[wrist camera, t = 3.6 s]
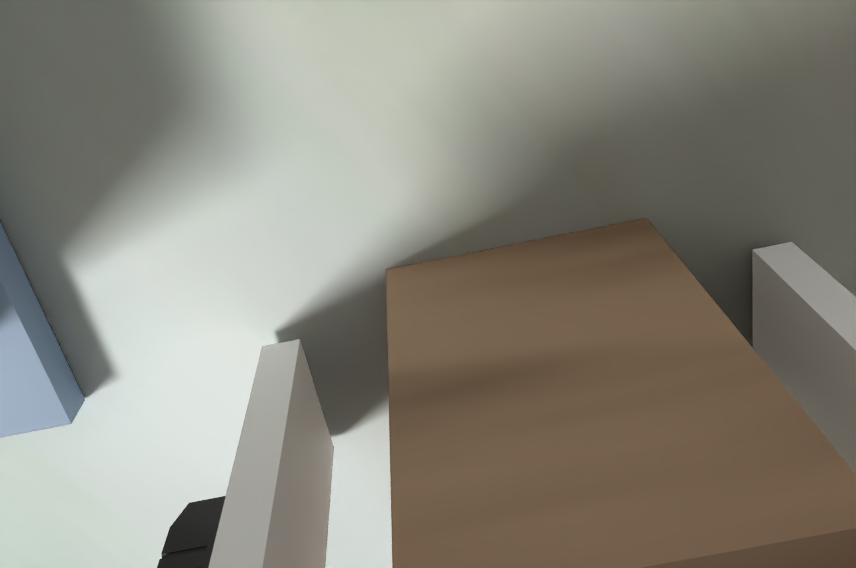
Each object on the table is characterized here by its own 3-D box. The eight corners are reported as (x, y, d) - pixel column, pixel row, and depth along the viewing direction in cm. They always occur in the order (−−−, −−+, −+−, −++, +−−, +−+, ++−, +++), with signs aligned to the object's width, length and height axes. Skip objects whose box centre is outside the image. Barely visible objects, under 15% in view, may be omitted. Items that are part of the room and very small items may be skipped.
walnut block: (660, 428, 17) (865, 814, 10) (434, 471, 17) (474, 881, 10) (645, 217, 15) (893, 521, 8) (385, 269, 15) (393, 613, 8)
